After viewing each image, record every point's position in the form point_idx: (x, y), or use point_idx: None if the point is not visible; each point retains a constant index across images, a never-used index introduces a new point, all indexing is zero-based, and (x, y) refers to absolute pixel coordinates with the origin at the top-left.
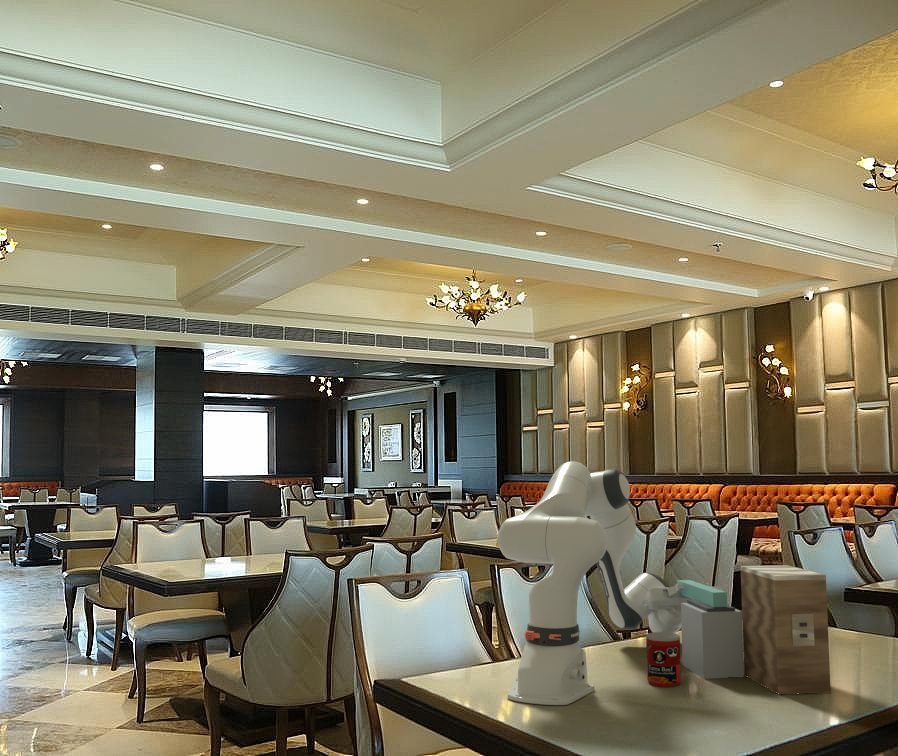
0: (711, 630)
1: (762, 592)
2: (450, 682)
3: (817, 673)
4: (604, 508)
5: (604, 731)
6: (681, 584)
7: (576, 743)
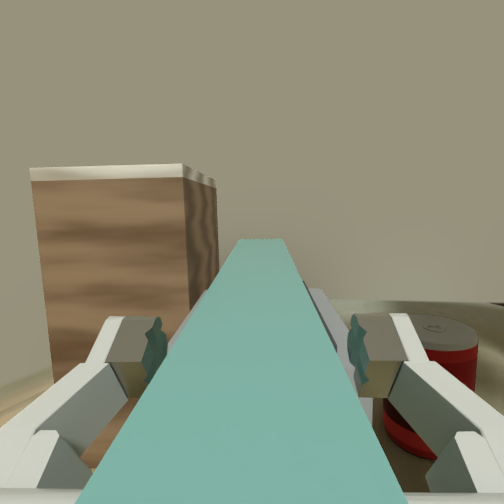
0: None
1: (209, 218)
2: None
3: None
4: None
5: (465, 316)
6: (358, 316)
7: (482, 306)
